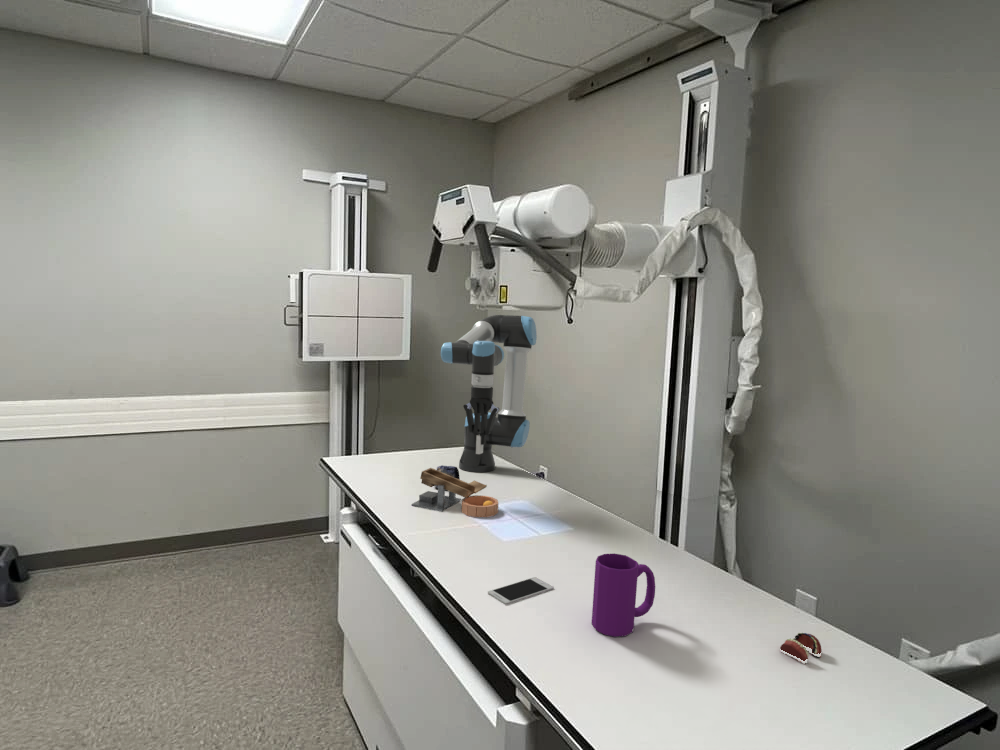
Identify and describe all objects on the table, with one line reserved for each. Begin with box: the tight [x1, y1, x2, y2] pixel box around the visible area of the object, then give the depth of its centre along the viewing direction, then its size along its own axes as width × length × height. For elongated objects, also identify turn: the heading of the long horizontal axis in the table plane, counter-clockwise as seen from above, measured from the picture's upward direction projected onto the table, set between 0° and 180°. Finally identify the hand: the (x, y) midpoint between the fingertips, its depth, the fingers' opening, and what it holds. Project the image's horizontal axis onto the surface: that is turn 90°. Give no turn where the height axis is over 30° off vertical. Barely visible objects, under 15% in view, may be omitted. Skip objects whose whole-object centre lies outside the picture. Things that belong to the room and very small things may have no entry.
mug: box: [591, 553, 656, 638], centre depth 138 cm, size 9×16×15 cm, turn 118°
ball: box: [483, 501, 493, 506], centre depth 208 cm, size 4×4×4 cm
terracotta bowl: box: [460, 494, 499, 518], centre depth 210 cm, size 12×12×4 cm
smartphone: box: [487, 576, 555, 606], centre depth 153 cm, size 7×15×1 cm, turn 129°
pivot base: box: [411, 485, 462, 512], centre depth 216 cm, size 12×14×8 cm
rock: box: [433, 464, 461, 491], centre depth 236 cm, size 11×10×10 cm
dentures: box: [779, 632, 823, 661], centre depth 130 cm, size 6×4×8 cm
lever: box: [419, 467, 488, 498], centre depth 218 cm, size 18×15×4 cm
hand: (479, 453), depth 219 cm, fingers closed
